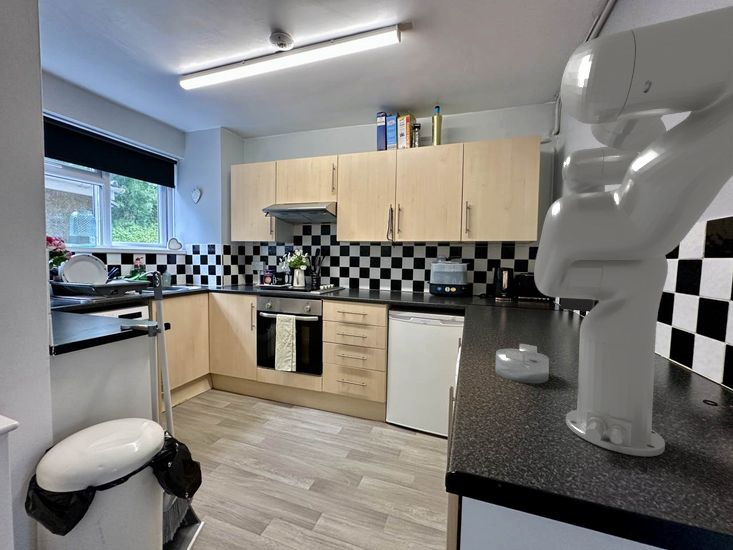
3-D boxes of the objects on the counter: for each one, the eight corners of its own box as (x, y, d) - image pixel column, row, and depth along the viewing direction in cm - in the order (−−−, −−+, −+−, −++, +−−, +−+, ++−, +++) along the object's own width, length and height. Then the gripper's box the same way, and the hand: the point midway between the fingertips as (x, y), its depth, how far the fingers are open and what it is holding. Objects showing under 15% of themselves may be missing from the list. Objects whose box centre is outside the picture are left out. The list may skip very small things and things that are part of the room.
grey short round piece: (540, 387, 69) (541, 358, 69) (487, 373, 78) (488, 348, 78) (553, 374, 78) (554, 349, 78) (505, 363, 86) (506, 340, 86)
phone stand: (592, 312, 65) (594, 255, 65) (559, 309, 69) (561, 256, 69) (599, 308, 71) (601, 257, 71) (569, 305, 76) (571, 257, 75)
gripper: (597, 209, 62) (594, 300, 62) (609, 218, 73) (606, 295, 73) (555, 213, 67) (552, 297, 67) (571, 221, 78) (569, 293, 78)
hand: (580, 295), depth 70 cm, fingers closed on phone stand, 1 cm apart
